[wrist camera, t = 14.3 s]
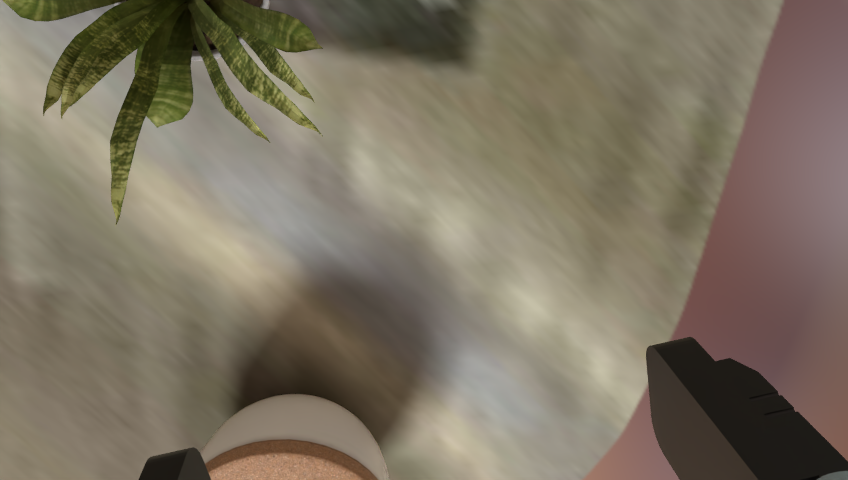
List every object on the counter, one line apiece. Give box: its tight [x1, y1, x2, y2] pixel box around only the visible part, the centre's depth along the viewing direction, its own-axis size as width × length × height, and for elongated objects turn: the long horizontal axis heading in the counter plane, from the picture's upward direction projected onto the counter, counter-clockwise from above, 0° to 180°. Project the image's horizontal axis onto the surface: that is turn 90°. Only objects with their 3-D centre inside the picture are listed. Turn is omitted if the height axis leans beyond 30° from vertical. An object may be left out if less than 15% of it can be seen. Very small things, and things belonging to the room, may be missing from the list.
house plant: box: [3, 0, 323, 226], centre depth 28 cm, size 14×14×16 cm
